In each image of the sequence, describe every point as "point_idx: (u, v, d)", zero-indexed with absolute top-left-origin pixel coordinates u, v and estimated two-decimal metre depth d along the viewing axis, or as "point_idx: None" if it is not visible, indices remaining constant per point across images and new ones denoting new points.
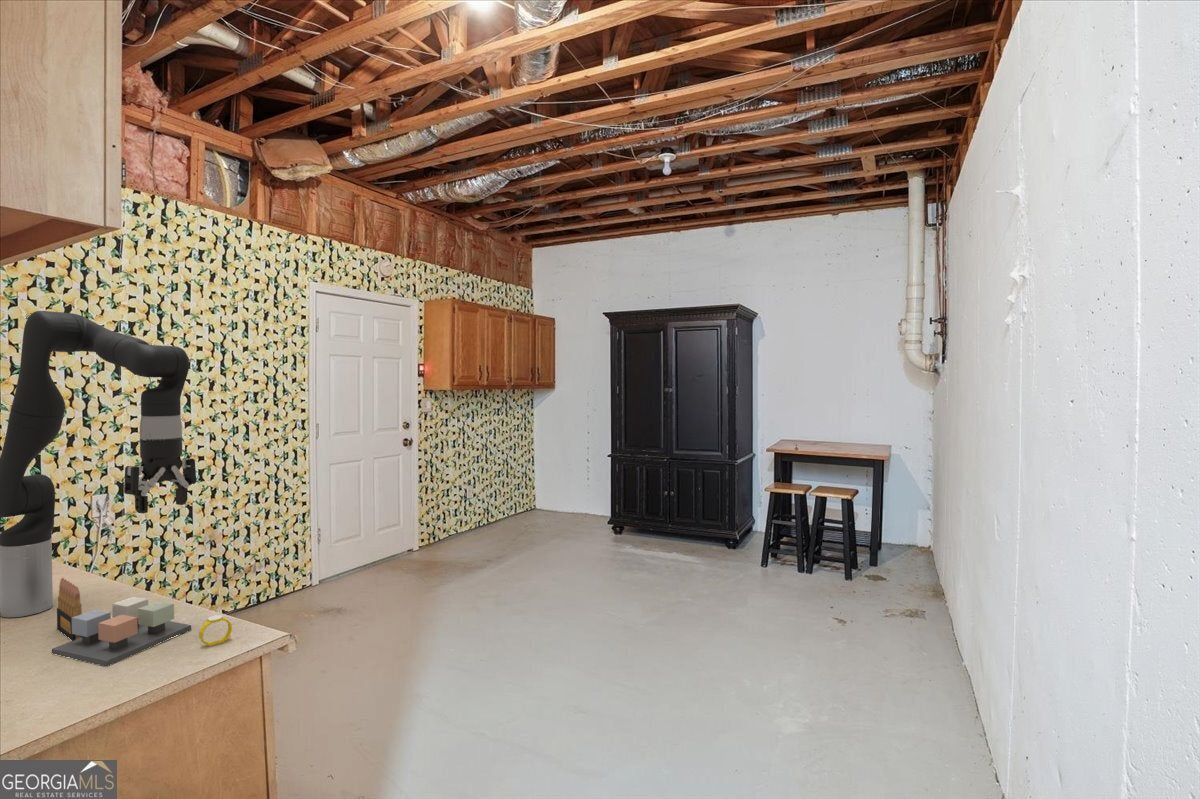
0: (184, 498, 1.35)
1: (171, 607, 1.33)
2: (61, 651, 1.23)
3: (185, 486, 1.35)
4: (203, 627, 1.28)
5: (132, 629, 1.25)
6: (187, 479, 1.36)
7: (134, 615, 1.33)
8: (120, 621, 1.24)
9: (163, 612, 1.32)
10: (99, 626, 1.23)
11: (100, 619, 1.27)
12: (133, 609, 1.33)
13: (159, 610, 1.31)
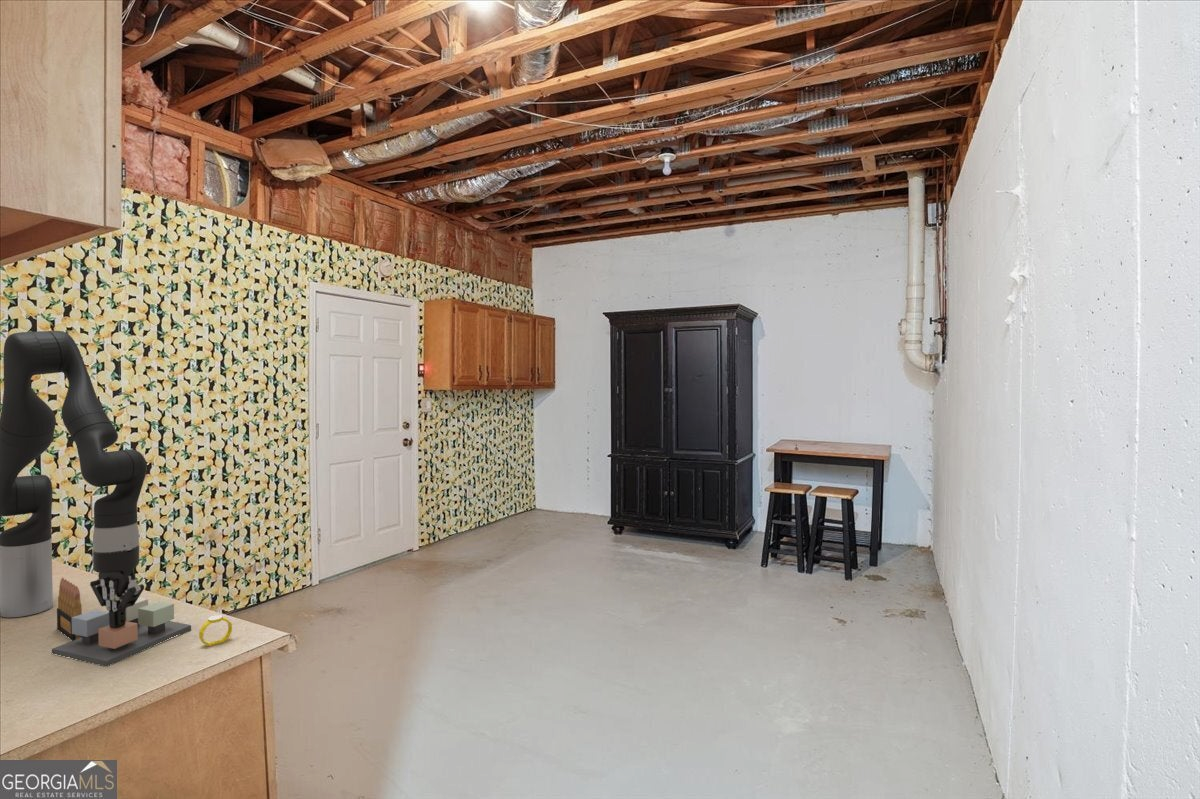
0: None
1: (171, 607, 1.33)
2: (61, 651, 1.23)
3: None
4: (203, 627, 1.28)
5: (132, 635, 1.25)
6: None
7: (134, 615, 1.33)
8: (120, 627, 1.24)
9: (163, 612, 1.32)
10: (99, 632, 1.23)
11: (100, 619, 1.27)
12: (133, 609, 1.33)
13: (159, 610, 1.31)
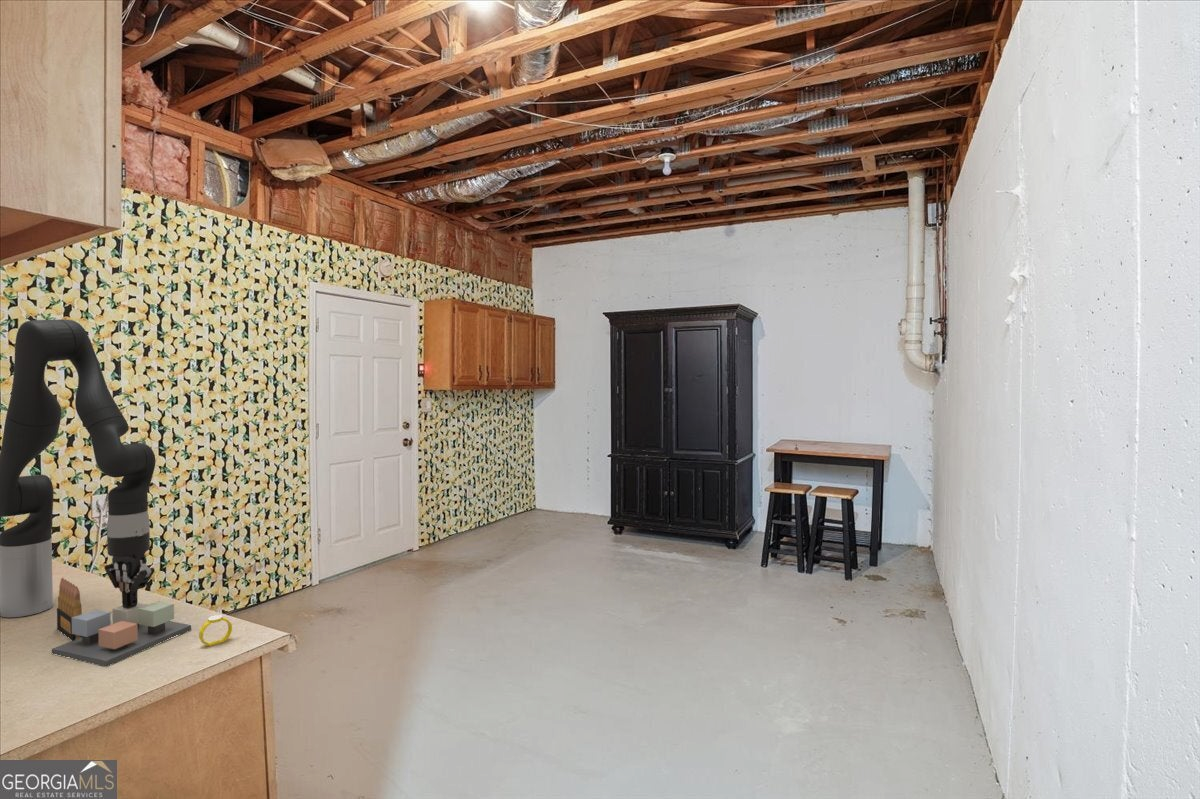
0: None
1: (171, 607, 1.33)
2: (61, 651, 1.23)
3: None
4: (203, 627, 1.28)
5: (132, 635, 1.25)
6: None
7: (134, 620, 1.33)
8: (120, 627, 1.24)
9: (163, 612, 1.32)
10: (99, 633, 1.23)
11: (100, 619, 1.27)
12: (133, 614, 1.33)
13: (159, 610, 1.31)
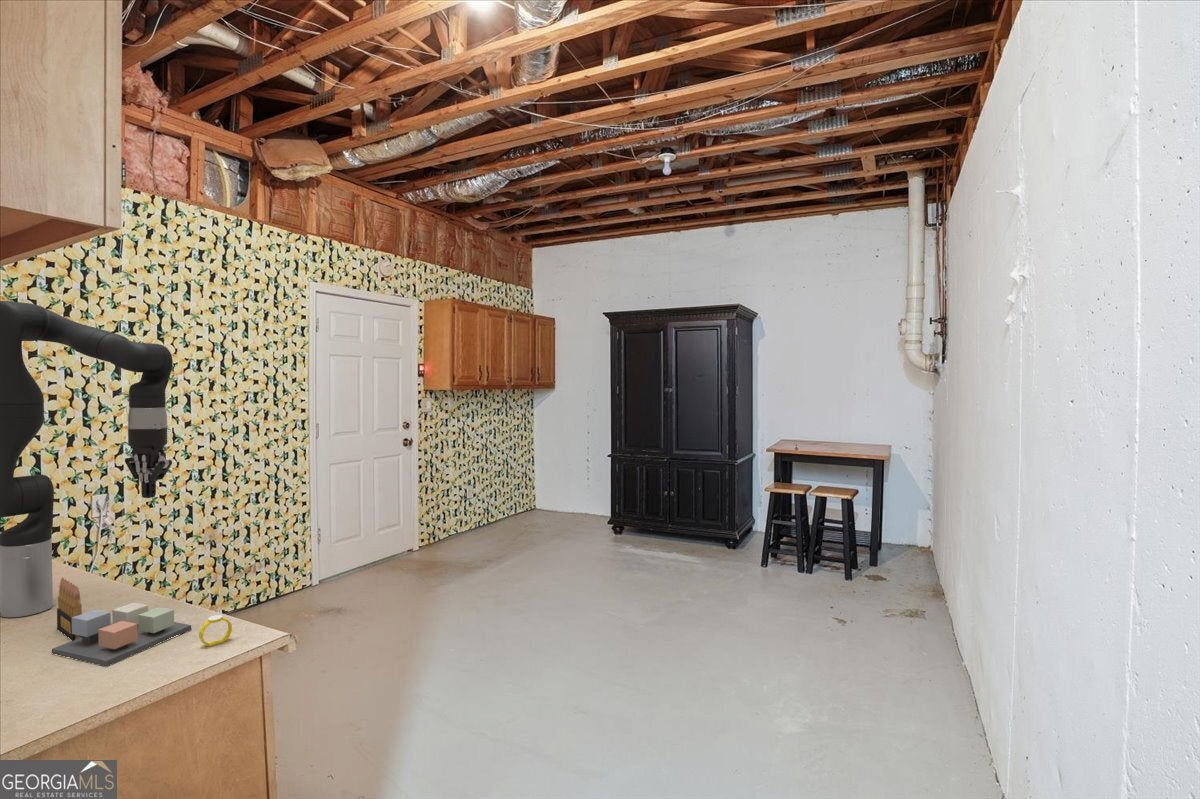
0: None
1: (171, 613, 1.33)
2: (61, 651, 1.23)
3: None
4: (203, 627, 1.28)
5: (132, 635, 1.25)
6: None
7: (134, 621, 1.33)
8: (120, 627, 1.24)
9: (163, 618, 1.32)
10: (99, 633, 1.23)
11: (100, 619, 1.27)
12: (133, 615, 1.33)
13: (159, 616, 1.31)
